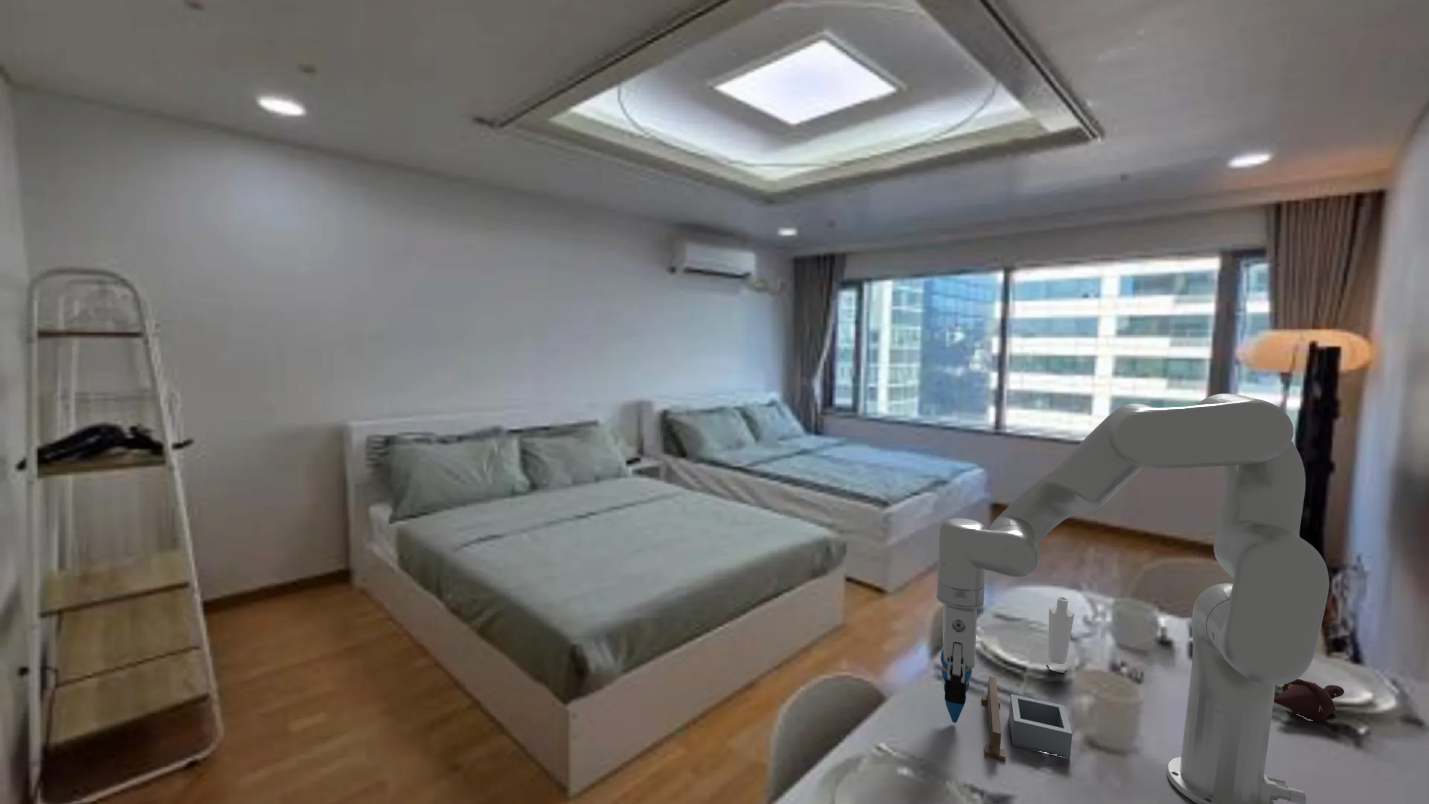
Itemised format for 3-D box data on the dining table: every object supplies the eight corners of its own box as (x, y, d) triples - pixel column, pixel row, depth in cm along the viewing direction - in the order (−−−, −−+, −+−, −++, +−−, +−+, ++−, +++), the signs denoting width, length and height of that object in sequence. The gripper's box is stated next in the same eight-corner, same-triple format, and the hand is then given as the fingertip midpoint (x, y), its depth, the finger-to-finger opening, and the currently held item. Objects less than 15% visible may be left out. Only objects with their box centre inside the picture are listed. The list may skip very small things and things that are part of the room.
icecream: (1304, 701, 107) (1369, 700, 111) (1262, 669, 114) (1324, 669, 117) (1285, 732, 110) (1349, 730, 113) (1245, 698, 116) (1306, 698, 120)
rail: (999, 701, 116) (1001, 678, 115) (1005, 761, 99) (1007, 735, 98) (981, 697, 117) (983, 675, 116) (984, 756, 100) (986, 730, 100)
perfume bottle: (1038, 665, 129) (1044, 596, 128) (1052, 661, 131) (1059, 593, 129) (1058, 676, 125) (1065, 605, 124) (1073, 672, 127) (1080, 601, 125)
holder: (1062, 730, 108) (1064, 705, 107) (1069, 760, 100) (1072, 733, 99) (1008, 717, 111) (1010, 694, 110) (1012, 746, 103) (1014, 720, 102)
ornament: (971, 733, 105) (976, 648, 104) (939, 729, 106) (944, 645, 105) (966, 715, 110) (970, 634, 109) (935, 711, 111) (939, 631, 110)
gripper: (985, 616, 97) (979, 726, 99) (982, 578, 112) (977, 674, 114) (934, 607, 100) (929, 715, 101) (938, 572, 115) (934, 666, 117)
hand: (954, 692), depth 108 cm, fingers closed on ornament, 4 cm apart
